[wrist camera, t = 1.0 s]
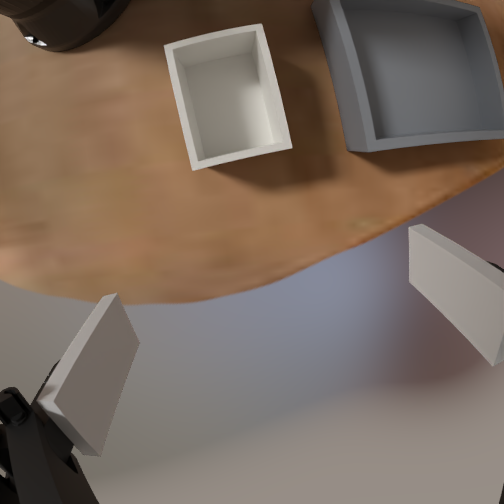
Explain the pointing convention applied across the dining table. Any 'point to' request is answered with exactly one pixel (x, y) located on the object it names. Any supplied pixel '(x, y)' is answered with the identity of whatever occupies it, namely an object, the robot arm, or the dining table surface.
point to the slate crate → (411, 72)
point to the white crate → (227, 96)
